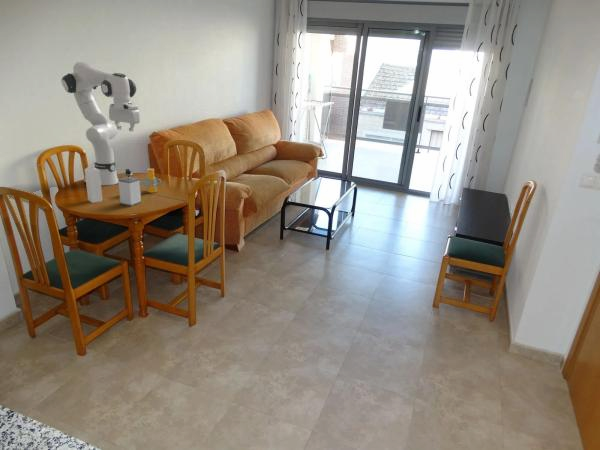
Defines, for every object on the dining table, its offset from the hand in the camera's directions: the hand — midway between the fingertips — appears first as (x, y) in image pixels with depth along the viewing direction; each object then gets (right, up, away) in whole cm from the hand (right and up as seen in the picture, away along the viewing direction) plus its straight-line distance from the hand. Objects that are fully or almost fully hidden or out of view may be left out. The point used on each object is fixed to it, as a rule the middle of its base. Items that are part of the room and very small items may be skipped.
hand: (125, 130), depth 232 cm
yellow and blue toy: (+2, -32, +37) cm, 49 cm away
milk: (-23, -39, +13) cm, 48 cm away
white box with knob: (-2, -40, +15) cm, 43 cm away
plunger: (-2, -39, +13) cm, 41 cm away
